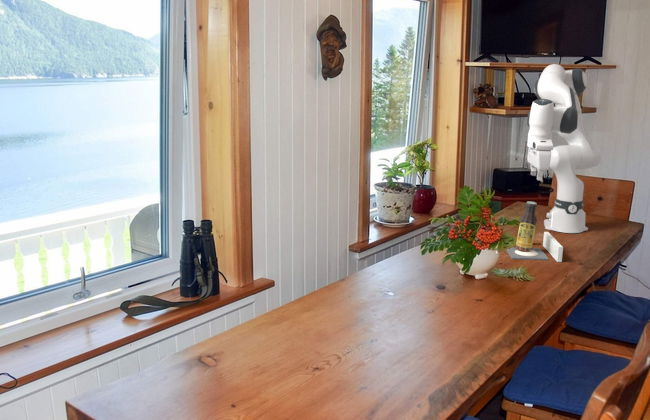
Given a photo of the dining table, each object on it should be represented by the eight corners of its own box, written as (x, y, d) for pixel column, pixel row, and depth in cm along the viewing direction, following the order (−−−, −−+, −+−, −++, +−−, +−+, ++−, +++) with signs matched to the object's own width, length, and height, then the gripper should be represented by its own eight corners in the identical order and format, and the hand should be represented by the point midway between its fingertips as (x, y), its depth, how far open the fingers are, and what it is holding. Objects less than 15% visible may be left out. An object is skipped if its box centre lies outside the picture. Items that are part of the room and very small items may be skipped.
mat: (505, 248, 255) (505, 246, 255) (539, 249, 254) (539, 247, 253) (512, 259, 241) (512, 257, 241) (548, 260, 240) (548, 258, 240)
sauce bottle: (514, 250, 249) (521, 202, 244) (516, 246, 254) (522, 199, 249) (531, 253, 246) (538, 205, 241) (533, 249, 252) (539, 201, 247)
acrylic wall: (542, 245, 259) (544, 231, 258) (546, 245, 259) (548, 231, 258) (557, 262, 238) (558, 247, 236) (561, 262, 238) (563, 247, 236)
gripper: (524, 138, 247) (522, 172, 251) (537, 146, 228) (534, 182, 231) (541, 138, 247) (538, 172, 250) (554, 146, 227) (551, 183, 230)
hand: (536, 177), depth 240 cm, fingers open, 8 cm apart
